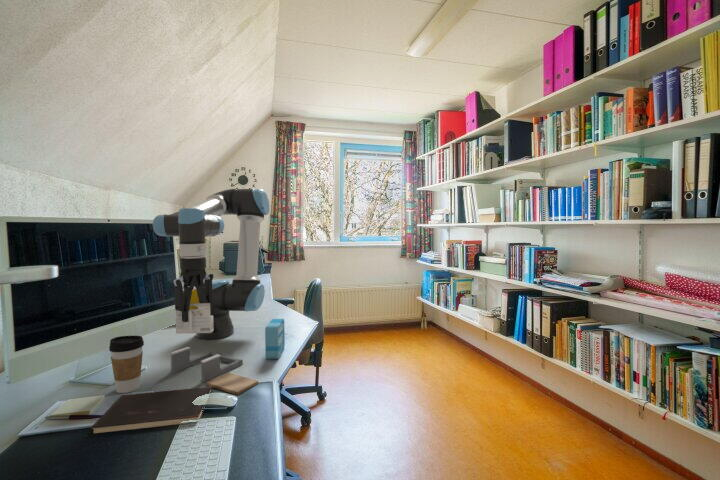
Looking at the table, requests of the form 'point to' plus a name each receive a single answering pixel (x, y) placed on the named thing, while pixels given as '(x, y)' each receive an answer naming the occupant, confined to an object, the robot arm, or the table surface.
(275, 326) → the data package
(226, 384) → the walnut mat
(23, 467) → the table surface
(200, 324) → the ink cartridge box
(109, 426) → the hardcover book
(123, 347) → the coffee cup
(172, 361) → the grey u-shaped frame
